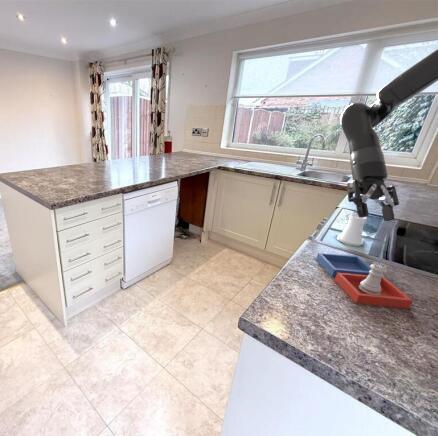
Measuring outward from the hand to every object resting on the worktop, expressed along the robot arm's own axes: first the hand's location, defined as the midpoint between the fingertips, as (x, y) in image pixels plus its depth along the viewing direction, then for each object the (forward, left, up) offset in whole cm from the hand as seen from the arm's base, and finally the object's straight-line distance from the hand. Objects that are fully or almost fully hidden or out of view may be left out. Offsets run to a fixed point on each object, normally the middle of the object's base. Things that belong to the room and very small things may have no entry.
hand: (376, 218), depth 68 cm
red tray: (+4, +12, -16) cm, 21 cm away
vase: (-9, -20, -17) cm, 27 cm away
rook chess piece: (+4, +12, -16) cm, 21 cm away
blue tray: (+4, +1, -16) cm, 17 cm away
